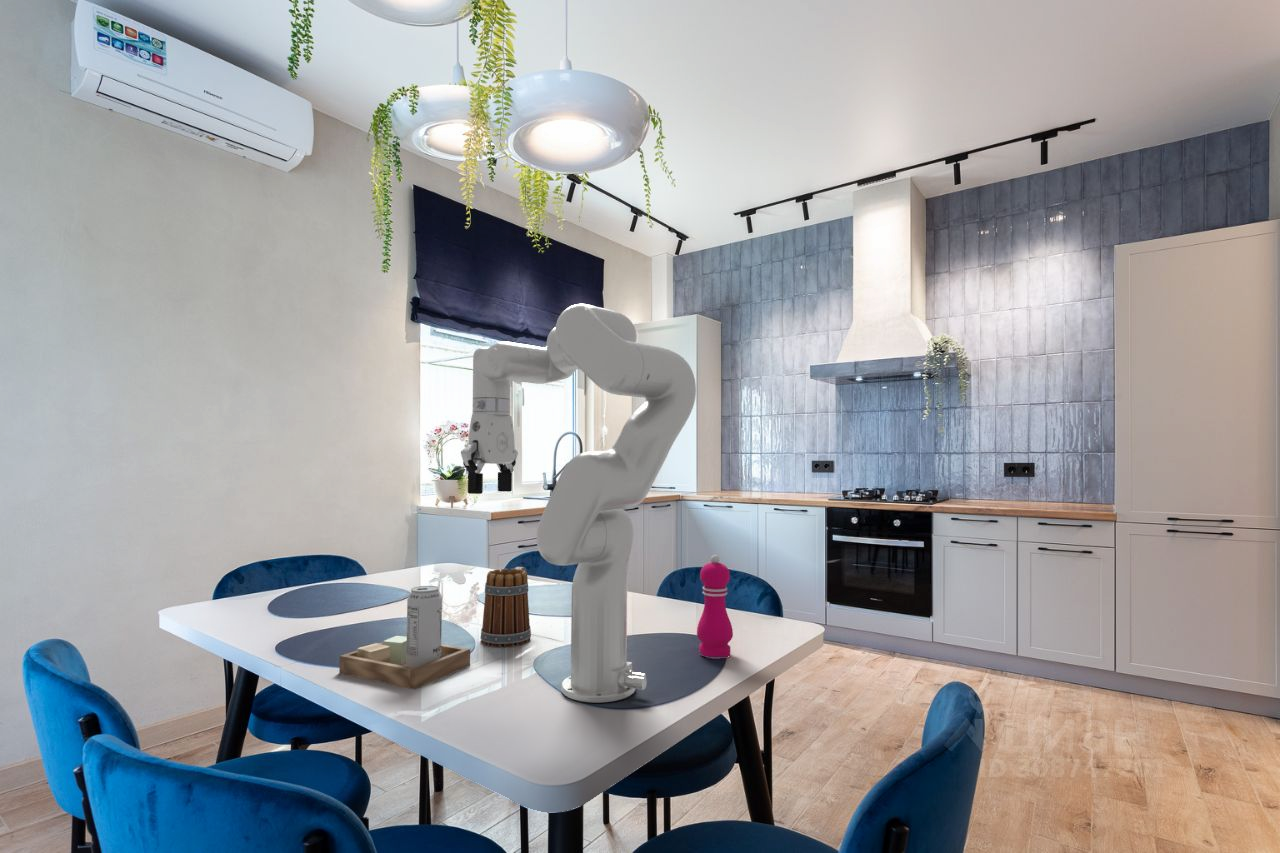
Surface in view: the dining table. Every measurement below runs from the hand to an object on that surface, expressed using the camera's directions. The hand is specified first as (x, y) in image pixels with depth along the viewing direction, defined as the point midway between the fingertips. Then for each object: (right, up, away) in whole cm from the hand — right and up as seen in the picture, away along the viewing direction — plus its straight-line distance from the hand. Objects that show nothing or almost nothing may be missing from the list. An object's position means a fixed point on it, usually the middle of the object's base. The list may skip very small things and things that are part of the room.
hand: (490, 492), depth 134 cm
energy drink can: (-9, -31, -15) cm, 36 cm away
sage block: (-16, -31, -8) cm, 36 cm away
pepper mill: (+46, -33, -1) cm, 56 cm away
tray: (-12, -32, -13) cm, 37 cm away
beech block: (-18, -31, -14) cm, 38 cm away
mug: (+2, -33, +9) cm, 34 cm away
